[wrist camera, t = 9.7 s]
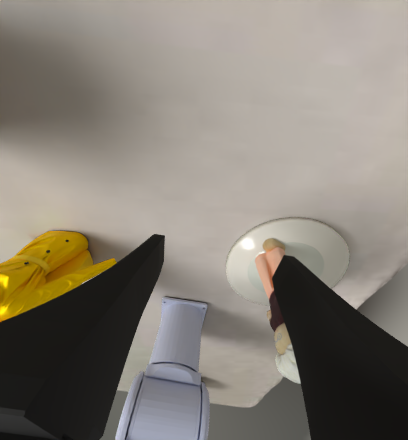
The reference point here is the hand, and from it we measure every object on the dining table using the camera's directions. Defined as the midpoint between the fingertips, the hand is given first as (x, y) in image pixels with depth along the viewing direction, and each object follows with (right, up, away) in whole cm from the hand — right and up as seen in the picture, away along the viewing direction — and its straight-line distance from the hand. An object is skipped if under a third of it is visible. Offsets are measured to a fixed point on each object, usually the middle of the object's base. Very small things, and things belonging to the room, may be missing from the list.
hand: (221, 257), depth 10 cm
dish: (+10, -4, +14) cm, 18 cm away
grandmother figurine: (+7, -2, +12) cm, 14 cm away
